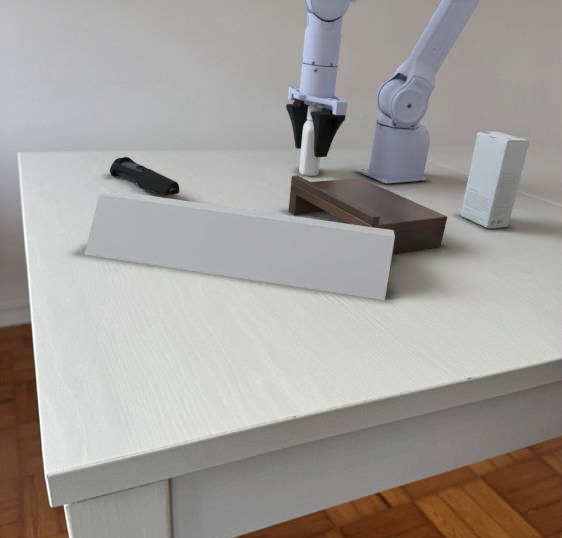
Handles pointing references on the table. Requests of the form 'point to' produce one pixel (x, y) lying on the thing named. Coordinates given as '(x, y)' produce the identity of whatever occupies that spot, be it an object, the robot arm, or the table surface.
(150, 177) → the electric trimmer
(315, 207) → the shelf
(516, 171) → the cosmetic box
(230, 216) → the molding piece
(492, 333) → the table surface
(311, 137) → the eye dropper bottle
